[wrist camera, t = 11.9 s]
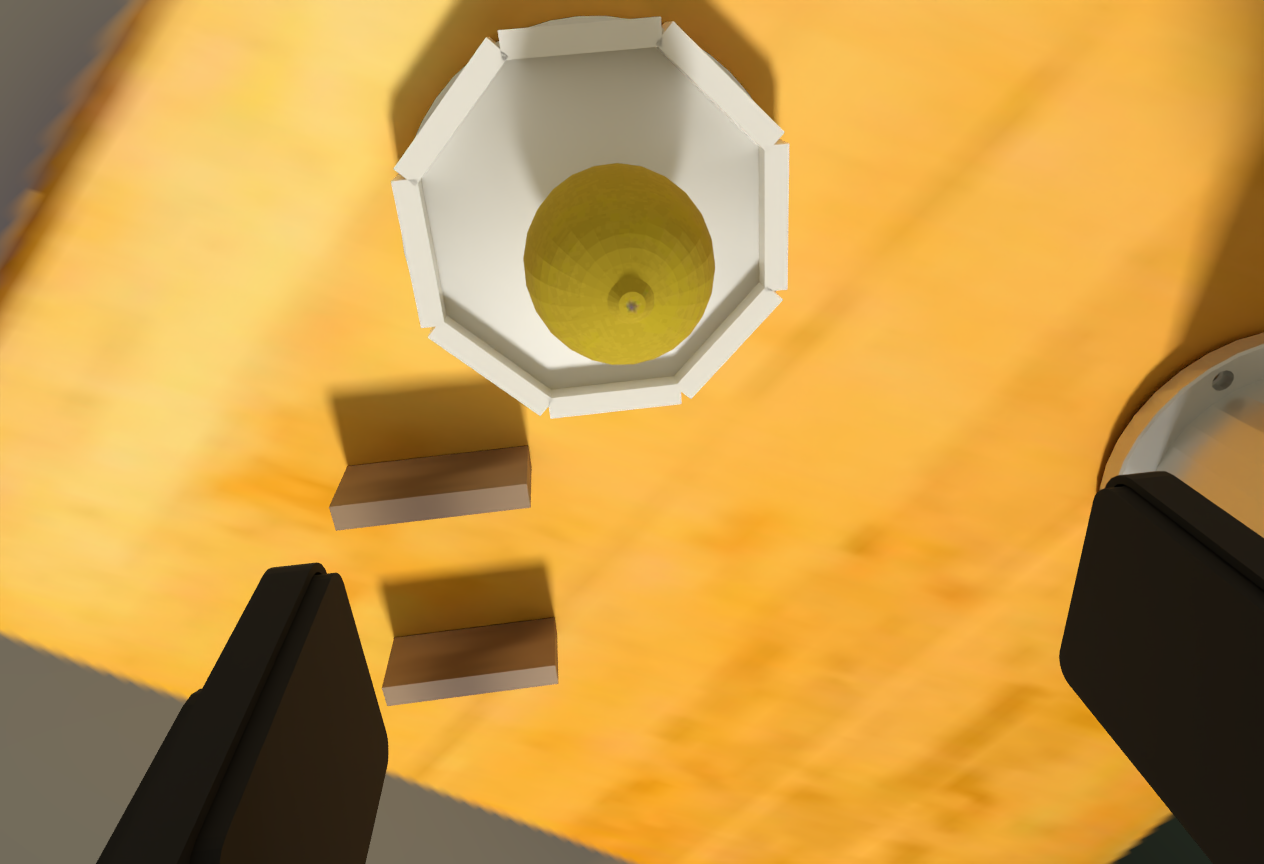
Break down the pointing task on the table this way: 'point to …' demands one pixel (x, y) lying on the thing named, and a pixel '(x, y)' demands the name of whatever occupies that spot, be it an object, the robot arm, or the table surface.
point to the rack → (444, 492)
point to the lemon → (619, 264)
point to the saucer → (562, 146)
